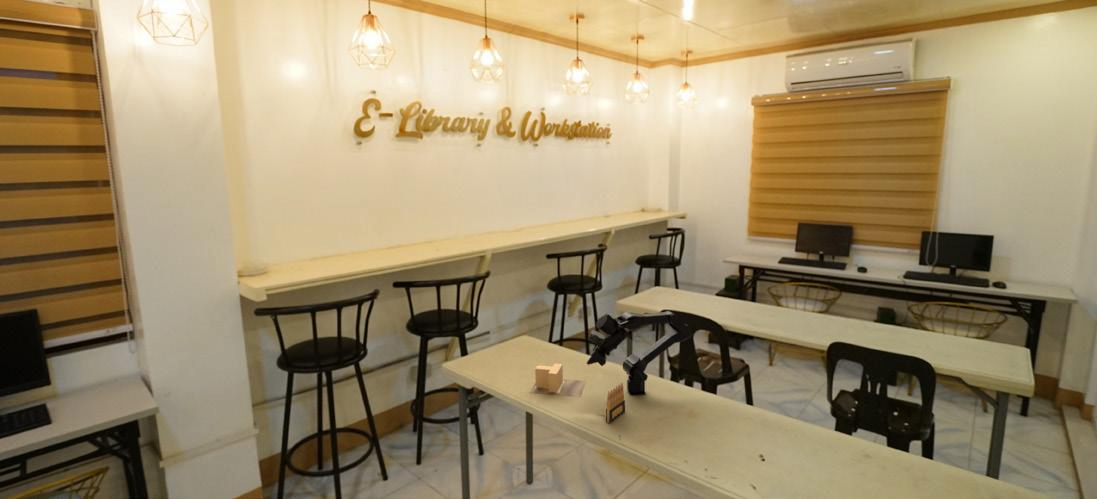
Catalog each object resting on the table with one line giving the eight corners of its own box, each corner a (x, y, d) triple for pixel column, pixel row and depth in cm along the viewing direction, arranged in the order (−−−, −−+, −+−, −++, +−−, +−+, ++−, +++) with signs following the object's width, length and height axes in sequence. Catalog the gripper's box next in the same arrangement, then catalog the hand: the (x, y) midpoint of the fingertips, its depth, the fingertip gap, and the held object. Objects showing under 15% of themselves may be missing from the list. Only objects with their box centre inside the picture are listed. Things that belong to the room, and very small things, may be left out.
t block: (562, 381, 221) (562, 364, 220) (557, 392, 211) (556, 373, 210) (540, 379, 224) (539, 362, 222) (533, 390, 214) (532, 371, 213)
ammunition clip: (609, 423, 189) (609, 393, 187) (605, 422, 190) (605, 391, 188) (625, 412, 197) (625, 382, 195) (621, 410, 198) (621, 381, 196)
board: (586, 384, 222) (586, 380, 221) (580, 400, 207) (580, 396, 207) (538, 380, 226) (538, 377, 226) (529, 396, 212) (529, 392, 212)
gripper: (603, 317, 217) (577, 341, 221) (596, 332, 199) (568, 358, 203) (622, 336, 216) (596, 360, 221) (617, 353, 198) (589, 378, 203)
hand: (587, 363), depth 212 cm, fingers closed
